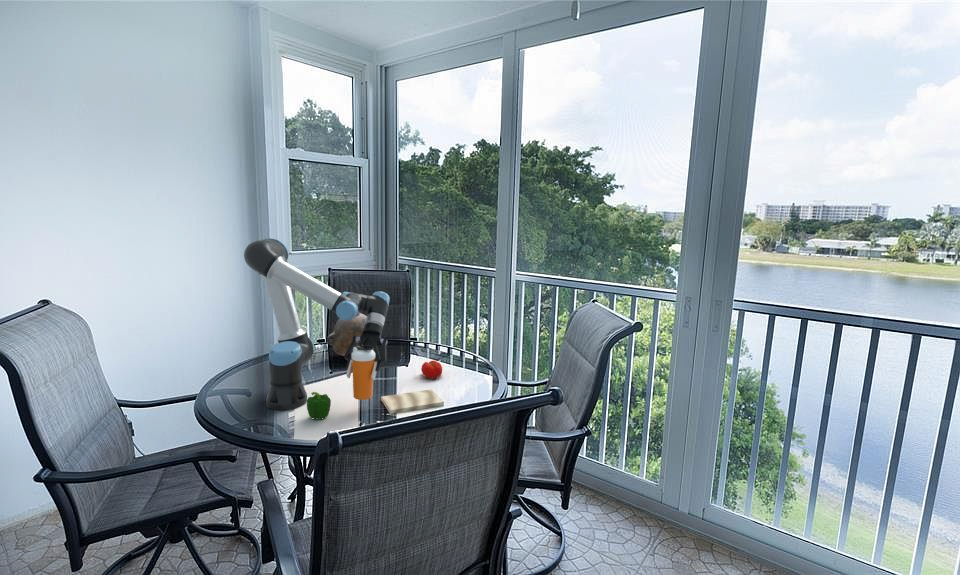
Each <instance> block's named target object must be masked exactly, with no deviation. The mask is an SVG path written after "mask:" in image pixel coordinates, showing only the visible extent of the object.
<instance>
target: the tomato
mask: <svg viewBox="0 0 960 575" xmlns="http://www.w3.org/2000/svg"><path fill="white" fill-rule="evenodd" d="M420 369H421V373H422V375H423V377H425V378H427V379H438V378H439V377H441V375H442V373H443V366H442V364H441V363H440V362H438V361H436V360H430V361H429V362H428V361H425V362H424V363H422V365H421V368H420Z"/></svg>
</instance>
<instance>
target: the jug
mask: <svg viewBox="0 0 960 575" xmlns="http://www.w3.org/2000/svg"><path fill="white" fill-rule="evenodd" d="M366 318H367V314H366V315H365V313H361V312H358V314H357V315H356V316H355V317H354V318H352V319H351V320H347V321H345V320H341V319H340V318H339V319H338V320H337V321H336V323H335V325H334V327H333V332H332V333H330V334H329V335H328V336H327V338H326V342H327V344H328V345H330V346H332V349H333V352H334V353H336V354H337V355H339V356H343V357H344V355H345V353H346V352H347V350H348V348H349V346H350V344H351V342H352V340H353V336H356V337H360V336H361V335H362V332H363V328H364V325H365V321H366ZM331 338H332V339H331ZM330 339H331V340H330ZM360 342H361V340H359V341H358V343H357V344H356V346H358V345H359V344H360ZM356 346H355V347H356ZM372 350H373V351H374V347H373V349H372ZM374 352H375V351H374Z"/></svg>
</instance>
